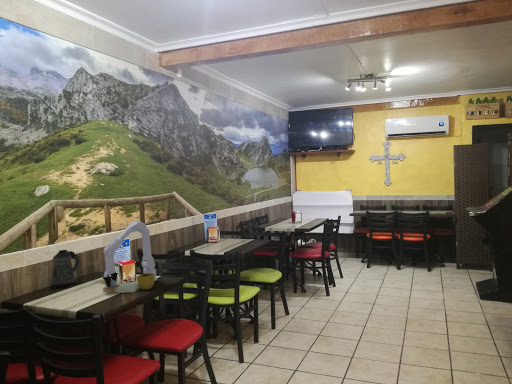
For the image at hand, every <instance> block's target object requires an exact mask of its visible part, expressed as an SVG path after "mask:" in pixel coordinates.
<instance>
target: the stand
mask: <svg viewBox="0 0 512 384" xmlns="http://www.w3.org/2000/svg"><path fill="white" fill-rule="evenodd" d="M120 285H121V284H117V286H116V287H107V286H106V285H105V286H104V287H103V288H102V292H103V293H105V292H106V293H107V292H109V293H113V292H116V289H117V287H119V286H120Z"/></svg>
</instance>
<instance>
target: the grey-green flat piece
mask: <svg viewBox="0 0 512 384" xmlns="http://www.w3.org/2000/svg"><path fill="white" fill-rule="evenodd" d="M119 285H120V286H119V287H117V289H116V293H117V294H118V293H120V294H121V293H136V292H137V291H138V290H141V288H140V287H139V285H138V282H123V283H122V284H119Z"/></svg>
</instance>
